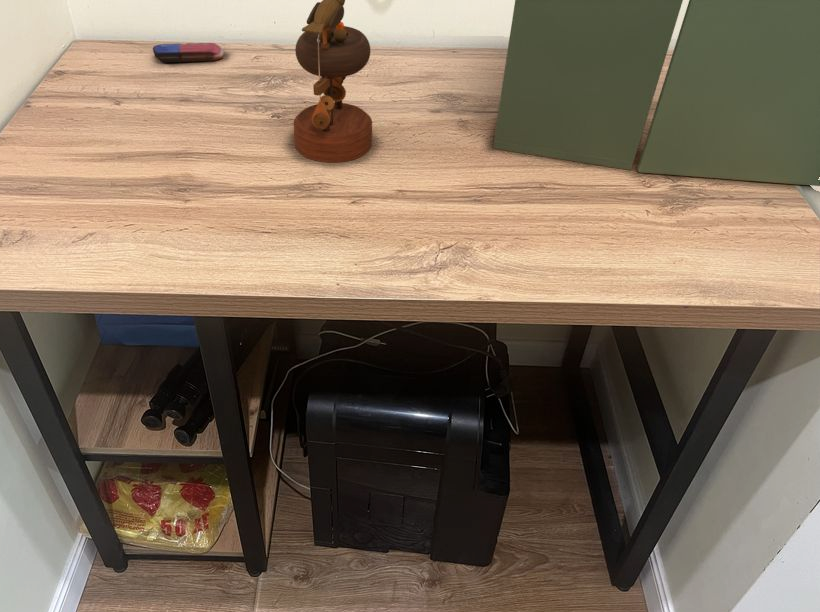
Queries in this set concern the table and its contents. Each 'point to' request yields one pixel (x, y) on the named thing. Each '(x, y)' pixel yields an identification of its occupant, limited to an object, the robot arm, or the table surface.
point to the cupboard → (582, 77)
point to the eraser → (188, 52)
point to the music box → (332, 87)
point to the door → (741, 94)
